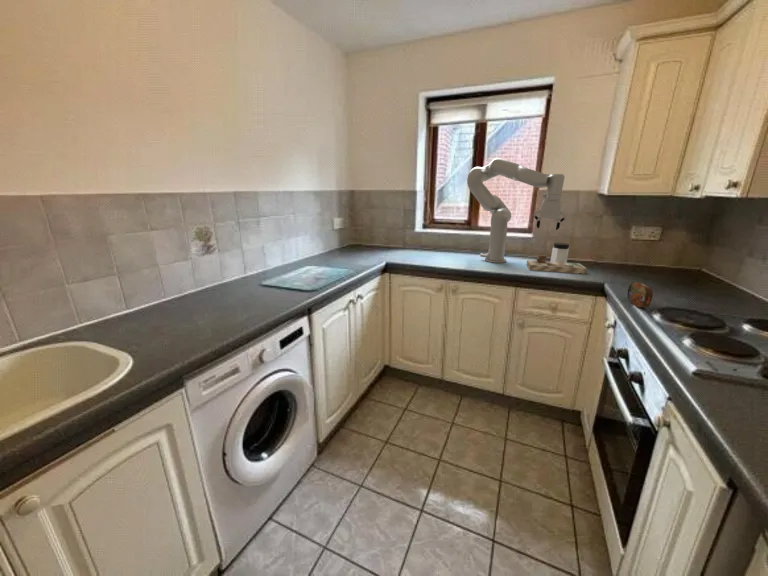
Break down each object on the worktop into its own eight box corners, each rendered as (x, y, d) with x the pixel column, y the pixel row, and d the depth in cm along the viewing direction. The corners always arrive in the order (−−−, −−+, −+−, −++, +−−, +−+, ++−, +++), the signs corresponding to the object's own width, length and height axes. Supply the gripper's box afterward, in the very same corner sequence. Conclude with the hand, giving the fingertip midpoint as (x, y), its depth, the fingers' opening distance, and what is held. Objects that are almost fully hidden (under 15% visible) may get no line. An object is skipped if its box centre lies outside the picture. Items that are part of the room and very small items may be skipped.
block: (537, 262, 187) (538, 255, 186) (536, 261, 191) (537, 254, 190) (545, 263, 186) (546, 256, 185) (543, 261, 190) (545, 254, 189)
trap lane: (529, 270, 183) (530, 264, 182) (526, 265, 195) (526, 260, 194) (585, 273, 176) (586, 268, 175) (578, 268, 188) (579, 263, 187)
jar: (562, 265, 195) (566, 245, 192) (548, 263, 201) (551, 243, 197) (568, 263, 201) (571, 243, 198) (554, 261, 207) (557, 242, 203)
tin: (625, 298, 137) (629, 278, 134) (634, 299, 136) (638, 279, 134) (640, 310, 123) (646, 289, 121) (650, 311, 122) (656, 290, 120)
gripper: (535, 197, 182) (529, 228, 187) (570, 198, 174) (563, 231, 179) (537, 196, 188) (532, 226, 194) (571, 198, 180) (565, 229, 185)
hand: (547, 228), depth 186 cm, fingers open, 9 cm apart
